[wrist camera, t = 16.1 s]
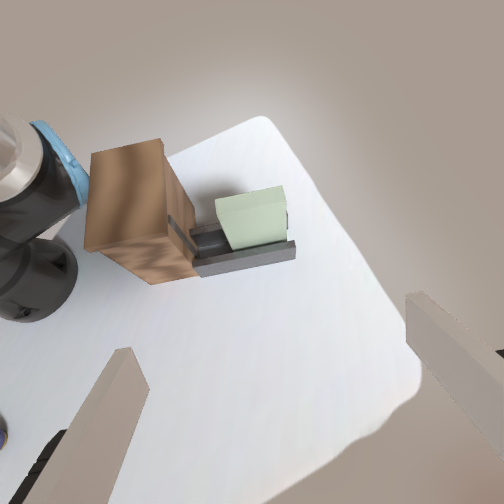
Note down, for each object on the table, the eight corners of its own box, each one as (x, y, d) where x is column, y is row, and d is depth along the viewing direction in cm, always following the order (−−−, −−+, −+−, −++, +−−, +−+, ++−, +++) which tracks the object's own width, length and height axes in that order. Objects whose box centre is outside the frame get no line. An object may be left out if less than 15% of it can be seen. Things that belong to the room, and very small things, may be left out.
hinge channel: (201, 277, 50) (192, 267, 45) (197, 241, 53) (188, 229, 48) (295, 258, 49) (295, 247, 44) (286, 223, 52) (286, 209, 47)
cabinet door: (236, 258, 50) (216, 215, 37) (233, 242, 52) (213, 194, 38) (286, 248, 50) (286, 200, 36) (283, 232, 51) (281, 180, 38)
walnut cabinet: (148, 288, 50) (83, 248, 34) (146, 215, 56) (91, 153, 40) (203, 277, 50) (164, 231, 34) (196, 204, 56) (160, 138, 40)
